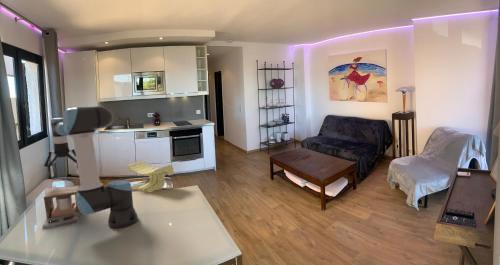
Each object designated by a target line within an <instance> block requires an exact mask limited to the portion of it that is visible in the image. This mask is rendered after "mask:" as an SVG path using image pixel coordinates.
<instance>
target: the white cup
mask: <svg viewBox="0 0 500 265" xmlns="http://www.w3.org/2000/svg"><path fill="white" fill-rule="evenodd" d="M71 196H72V195H69V196H62V197H56V198H55V202H56V206H57V207H58V211H63V210H69V209H73V208H72V203H73V199H72V200H71Z"/></svg>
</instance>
